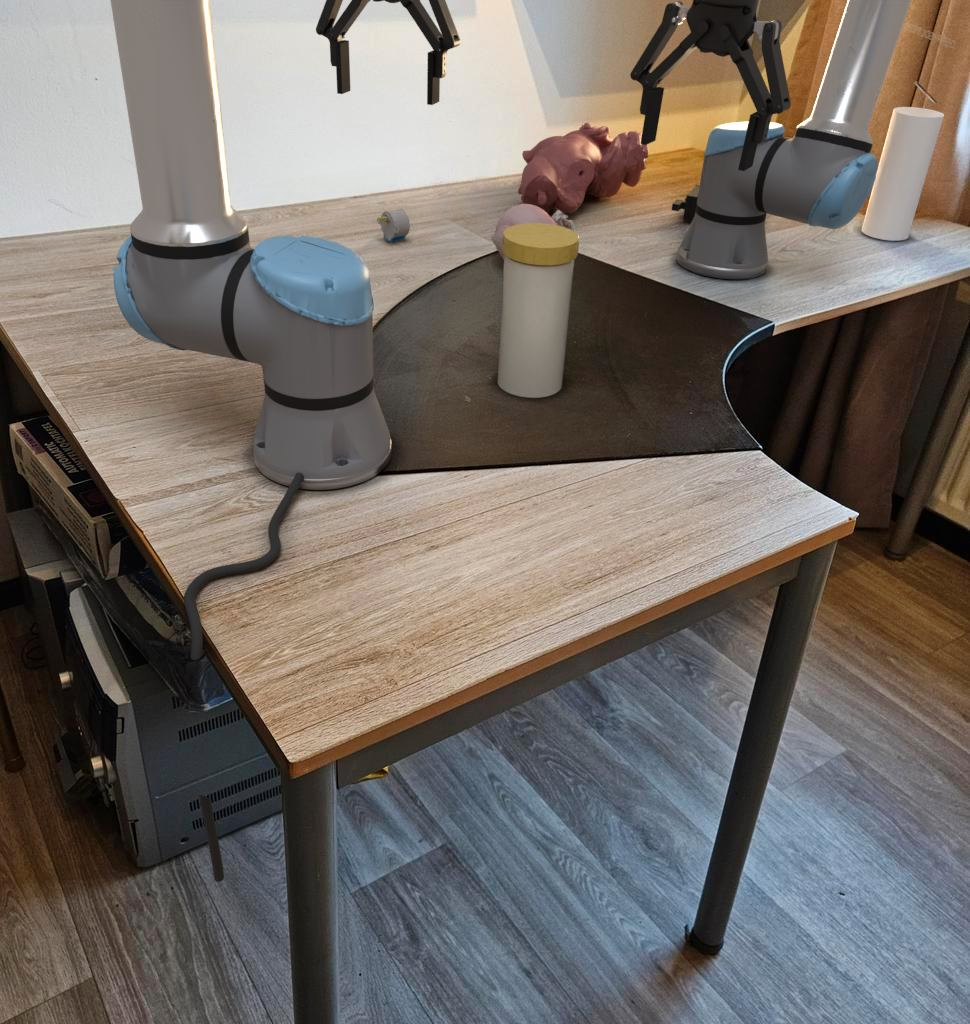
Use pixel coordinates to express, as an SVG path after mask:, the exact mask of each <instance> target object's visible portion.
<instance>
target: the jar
mask: <svg viewBox="0 0 970 1024" xmlns="http://www.w3.org/2000/svg"><path fill="white" fill-rule="evenodd" d="M575 260H576V258H575V259H574V260H573V261H571V262H568V263H565V264H559V265H532V264H526V263H522V262H518V261H515V260H512V259H510V258H508V257H507V256H506V255H504V259H503V271H502V272H503V274H502V288H501V289H502V290H501V306H500V307H501V310H500V311H501V312H500V327H499V344H498V358H497V359H498V361H497V376H496V377H497V379H496V383H497V385H498V388H500V389H501V390H502V391H503V392H506V393H508V394H510V395H513V396H515V397H520V398H526V399H527V398H529V399H540V398H546V397H550V396H553V395H556V394H557V393H559V392H560V391H561V389H562V387H563V380H564V370H565V360H566V351H567V350H566V349H567V341H568V330H569V321H570V320H569V319H570V310H571V309H570V308H571V300H572V289H573V281H574V280H573V279H574V271H575Z"/></svg>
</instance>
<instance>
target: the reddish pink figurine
mask: <svg viewBox="0 0 970 1024" xmlns="http://www.w3.org/2000/svg"><path fill="white" fill-rule="evenodd" d="M610 130H611V129H610V127H608V126H607V125H605V126H604V125H602V126H600V127H598V126H592V125H591V124H590V123H589V122H585V123H584V124H581V126H580V127H579V129H576V130H573V131H570V132H568V133H566V134H565V135H554V136H549V137H546V138H544V139H542V140H540V141H539V142H538V143H536V145H535V146H534V147H532V148H531V149H529V150H523V151H522V153H521V156H522V158H523V160H524V162H525V163H526V164H525V166H524V168H523V170H522V172H521V173H522V174H521V180H520V181H521V182H520V185H519V186H518V189H517V194H518V195H520V200H521V202H522V204H530V205H535V206H537V207H539V208H541V209H543V210H544V211H545V212H546V213H547V214H548V213H549V212H551V211H552V210H553V209H554V208H555V209H556V211H557V210H560V211H561V212H562V213H564V214H569V213H573V212H575V211H578V209H579V208H581V206H582V203H584V199H585V195H591V196H593V197H596V198H599V197H604V198H606V197H608V198H610V197H613V196H614V195H617V194H618V192H619V191H620V189H621V186H622V184H624V185H625V186H627V187H631V188H635V187H636V186H637V185H638V184H639V183H640V181H641V178H642V174H643V171H645V170H646V169H647V164H648V161H647V160H648V157H649V146H648V145H649V144H647V145H643V144H641V138H642V132H638V131H636V130H631V131H628V132H627V131H624V132H621V133H618V135H617V136H615V137H614V138H612V137H611V136H610V135H609V134H610Z"/></svg>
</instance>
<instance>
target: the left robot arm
mask: <svg viewBox="0 0 970 1024" xmlns="http://www.w3.org/2000/svg"><path fill="white" fill-rule="evenodd" d="M343 1H344V0H325V3H324V5H323V8H322V11H321V13H320V16H319V19H318V22H317V24H316V27H315V33H316V34H317V35H318V36H323V37H324V38H326V39H327V40H328V42H329V54H330V56H329V57H330V65H331V67H335V70H336V71H335V72H336V94H339V95H343V94H346V93H349V92H351V67H350V66H351V63H350V41H349V40H345V38H346V36H345V35H347V33H348V31H349V30H350V29H351V27H352V26H353V24H354V23H355V21H356V20H357V19H358V18H359V16H360V14H361V13H362V12H363V10H364V9H365V8H366V6H367V5H368V4H369V3H370V2H371V1H372V2H377V3H380V2H384V1H385V2H387V3H389V4H398V3H400V4H401V5H402V7H403V8H405V9H406V10H407V12H408V13H409V15H410V17H411V18H412V20H413V21H414V22H415V24H416V26H417V27H418V29H419V31H420V32H421V33H422V35H423V36H424V38H425V39H426V40H427V43H428V44H429V46H430V47H431V48H432V50H431V51H428V52H427V74H426V75H427V79H426V80H427V85H426V87H427V88H426V105H429V106H433V105H435V104H438V103H440V93H441V92H440V91H441V90H440V89H441V87H440V86H441V83H440V81H441V79H443V78H445V77H446V74H447V54H448V51H449V50H451V49H454V48H457V47H459V46H460V45H461V42H462V41H461V38H460V35H459V33H458V30H457V27H456V24H455V22H454V19H453V17H452V14H451V11H450V9H449V7H448V4H447V1H446V0H428V2H429V5H430V8H431V10H432V13H433V15H434V18H435V21H436V23H437V25H438V26H437V25H436V23H435V22H434V20H433V19H432V17H431V15H429V13H428V11H427V9H426V8H425V6H424V5H423V3H422V2H421V0H351V1H350V2H349V3H348V5H347V6H346V8H345V9H344V11H343V12H342V14H341V15H340V16H339V18H338V19H337V17H338V14H339V12H340V9H341V6H342V4H343ZM110 6H111V12H112V19H113V20H112V21H113V27H114V31H115V39H116V45H117V52H118V59H119V64H120V70H121V77H122V84H123V90H124V96H125V97H124V98H125V103H126V110H127V116H128V122H129V123H128V124H129V129H130V136H131V142H132V149H133V156H134V161H135V169H136V175H137V180H138V187H139V194H140V199H141V206H142V210H141V211H140V212H139V214H138V215H137V216H136V217H135V218H134V220H133V221H132V222H131V224H130V225H129V232H130V236H128V237H127V238H126V239H125V240H124V241H123V243H122V244H121V246H120V247H119V249H118V252H117V256H116V260H117V261H118V265H117V266H114V268H113V288H114V294H115V298H116V302H117V305H118V307H119V310H120V312H121V315H122V316H123V318H124V319H125V321H126V323H127V324H128V325H129V327H130V328H131V329H133V331H134V332H136V333H137V334H138V335H139V336H141V337H143V338H144V339H145V340H148V341H150V342H154V343H157V344H161V345H164V346H167V347H169V348H171V349H174V350H178V351H191V352H197V353H202V354H207V355H211V356H216V357H222V358H226V359H231V360H236V361H242V362H248V363H251V364H252V363H253V364H257V365H259V366H261V370H262V379H263V388H264V390H263V391H264V396H263V400H262V404H261V408H260V412H259V415H258V419H257V423H256V427H255V430H254V434H253V439H252V441H253V442H252V455H253V460H254V464H255V467H256V468H257V470H258V471H259V472H260V473H261V474H262V475H263V476H265V477H266V478H268V479H269V480H271V481H273V482H275V483H278V484H280V485H283V486H286V487H288V488H287V490H286V491H285V493H284V495H283V497H282V499H281V501H280V502H279V504H278V506H277V508H275V511H274V513H273V515H272V516H271V519H270V520H269V524H268V527H267V529H268V530H267V533H268V538H269V543H270V549H269V550H268V552H266V553H265V554H264V555H262V556H260V557H257V558H255V559H252V560H248V561H243V562H238V563H231V564H226V565H220V566H216V567H213V568H209V569H207V570H205V571H203V572H201V573H199V574H198V575H197V576H196V577H195V578H194V579H193V580H192V581H191V582H190V583H189V585H188V586H187V587H186V590H185V591H184V595H183V604H184V608H185V611H186V615H187V618H188V621H189V627H190V659H191V660H192V661H198V660H199V659H201V658H202V657H203V650H204V649H203V648H204V646H203V645H204V637H203V636H204V635H203V626H202V622H201V621H202V620H201V617H200V613H199V610H198V607H197V603H196V595H197V593H198V592H199V590H201V588H202V587H203V586H204V585H206V584H207V583H208V582H210V581H211V580H214V579H217V578H221V577H225V576H231V575H237V574H243V573H249V572H252V571H257V570H259V569H262V568H264V567H265V568H266V567H267V566H268V565H270V564H272V563H273V562H274V561H275V560H276V559H277V557H278V556H279V555H280V553H281V549H282V544H281V543H282V542H281V539H280V535H279V527H280V525H281V521H282V519H283V517H284V515H285V513H286V512H287V510H288V508H289V507H290V505H291V503H292V501H293V499H294V498H295V496H296V494H297V492H298V490H299V489H301V490H312V491H314V490H315V491H323V490H327V491H328V490H337V489H342V488H348V487H351V486H355V485H358V484H361V483H363V482H366V481H368V480H370V479H373V478H374V477H375V476H377V475H378V474H380V473H381V472H382V471H383V470H384V469H385V468H386V467H387V466H388V464H389V463H390V461H391V458H392V438H391V432H390V430H389V427H388V424H387V422H386V419H385V417H384V413H383V411H382V408H381V406H380V403H379V400H378V398H377V395H376V393H375V385H374V320H373V319H374V318H373V317H374V315H373V314H374V308H375V301H374V297H373V292H372V283H371V275H370V270H369V267H368V266H367V264H366V263H365V262H364V260H363V259H362V258H361V257H360V256H359V254H357V253H356V252H355V251H353V250H352V249H351V248H348V247H346V246H345V245H343V244H340V243H338V242H335V241H331V240H329V239H324V238H322V237H317V236H310V235H300V236H299V237H296V236H293V235H288V234H287V235H279V236H273V237H269V238H265V239H264V240H262V241H260V242H259V243H258V244H257V245H255V247H254V248H253V247H251V242H250V241H251V240H250V233H249V223H248V220H247V219H246V218H245V216H243V215H242V214H240V213H239V212H238V211H237V210H236V209H234V207H233V206H232V203H231V194H230V185H229V183H230V182H229V175H228V174H229V173H228V165H227V156H226V155H227V154H226V146H225V137H224V129H223V128H224V127H223V118H222V117H223V115H222V106H221V97H220V88H219V78H218V67H217V59H216V57H217V56H216V49H215V40H214V30H213V29H214V28H213V21H212V20H213V19H212V11H211V2H210V0H110ZM336 19H337V21H336ZM198 798H199V803H200V810H201V813H202V814H201V815H202V819H203V824H204V829H205V834H206V839H207V844H208V850H209V855H210V861H211V866H212V872H213V879H214V881H215V882H217V883H220V882H222V881H223V880H224V879H225V872H224V866H223V860H222V859H223V858H222V854H221V848H220V847H221V846H220V842H219V837H218V836H219V835H218V831H217V825H216V821H215V815H214V810H213V805H212V799H211V798H210V797H209V796H206V795H203V794H198Z"/></svg>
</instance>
